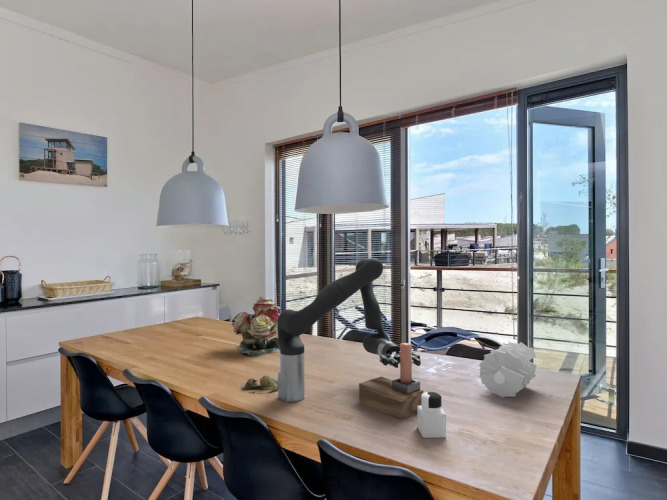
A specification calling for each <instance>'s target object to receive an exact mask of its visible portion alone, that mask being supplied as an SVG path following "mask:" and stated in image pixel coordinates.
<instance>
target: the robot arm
mask: <svg viewBox="0 0 667 500" xmlns="http://www.w3.org/2000/svg"><path fill="white" fill-rule="evenodd" d="M383 272H384V265H383V262H382V261H381V260H380V259H378V258H374V257H373V258H372V257H371V258H364V259H360V260H359V261H358V262H357V263H356V265H355V271H353V272H352V273H351V272H350V273H349V274H347V275H344V276H342V277H340V278H337V279H335V280H333V281H331V282H329V284H327V285H326V286H324V287H322V289H321V290H320V291H319V292H318V293H317V295H316V297H315V298H314V299H313V301H312V302H311V303H309V304H308V305H306V306H305V307H303V308H301V309H300V310H295V309H284V310H283V311H282V312H280V314H279V315H280V316H278V326H277V327H278V328H277V338H278V344H279V347H280V351H279V352H280V353H279V354H280V355H279V359H280V360H279V361H280V362H279V366H280V367H279V372H278V374H277V381H278V390H277V397H278V399H280V400H282V401H284V402H285V403H290V402H299V401H302V400H303V399H305V392H306V391H305V389H306V388H305V381H306V380H305V345H304V343H303V342H302V339H301V337H300V336H301V335H304V334H305V332H307V331H308V330H309V329H310V328H311V327H312V326H314V324H316V323H317V322H318V321H319V320H320V319H321V318H323V317H324V316H326V315H327V314H329V313H330V312H331V311H333V310H334V309H336V308H337V307H338V306H340V305H341V304H342V303H344V302H345V301H347V300H348V299H349V298H350V297H352V296H353V295H354V294H355V293H357V292H358V291H359V292H360V294H361V300H362V303H363V305H362V306H363V313H364V321H365V322H364V323H365V325H364V326H365V327H366V329H368V330H375V331H376V334H375V333H374V334H373V333H372V334H367V335H365V337H363V340H362V347H363V349H364V350H365V351H366V352H368V353H370V354H371V355H377V356H379V362H380V363H381V364H382V365H383V366H388V365H389V366H390V367H391V366H392V367H393V368H394V369H398V368H399V365H400V345H398V344H396V343H395V342H392V341H391V340H388V336H387V335H386V332H385V329H384V327H383V323H382V314H381V313H382V312H381V308H380V307H381V306H380V304H379V302H378V300H377V298H376V295H375V293H374V290H373V286H372V285H373V283H372V282H373V281H375V280H377V279H380V277H381V276H382V274H383ZM421 362H422V361H421V355H420V354H418V353H416V352H414V351H412V364H414V365H415V366H417V367H421V364H422V363H421Z"/></svg>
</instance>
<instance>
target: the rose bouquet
mask: <svg viewBox="0 0 667 500" xmlns="http://www.w3.org/2000/svg"><path fill="white" fill-rule="evenodd" d="M255 301H256V302H255V303H253V306H252V310H253V312H254V314H250V313H249V312H247V311H246V310H243V311H241V312H239V313H238V314H236V315H235V316H236V317H235V318H232V320H234V321H233V322H232V323H231V327H233V329H232V330H233V332H234V333H235V336H237V335H241V337H242V341H240V344H239V345H238V346H237V348H238V350H240V351H239V354H247V355H249V356H250V357H257V356H259V357H260V356H263V355H267V354H276V353H277V352H280V347H279V344H278V327H277V326H278V318H279V316H280V314H281V312H279V311H281V310H282V308H281V307H280V306H277V305H276V303H277V300H275V301H273V299H272V298H271V299H270V298H269V297H267V296H258V297H257V298H255ZM250 349H251V350H250ZM253 349H254V350H253Z"/></svg>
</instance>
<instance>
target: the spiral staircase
mask: <svg viewBox="0 0 667 500" xmlns="http://www.w3.org/2000/svg"><path fill="white" fill-rule="evenodd" d="M534 358H538V356H537V355H536V352H535V351H534V348H533V347H528V346H527V344H524V343H523V342H522V341H520V342H519V343H517V342H511V341H508V343H507V344H505V345H502V346H498V349H494V350H490V353H487V354H484V355H483V360H481V362H480V363H479V365H478V366H479V367H480V370H479V378H480V381H481V384H482V385H484V386H485V387H486V389H487V390H488V391H489V392H490V394H495V395H497V396H499V397H501V398H503V399H505V397H516V394H517V393H520V391H522V390H523V389H524V388H526V387H528V384H530V383H531V381H532V380H533V379H534V378H536V377H537V374H536V373H535V372H536V368H537V366H538V364H536V363H534V362H531V361H530V360H533V359H534Z"/></svg>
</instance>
